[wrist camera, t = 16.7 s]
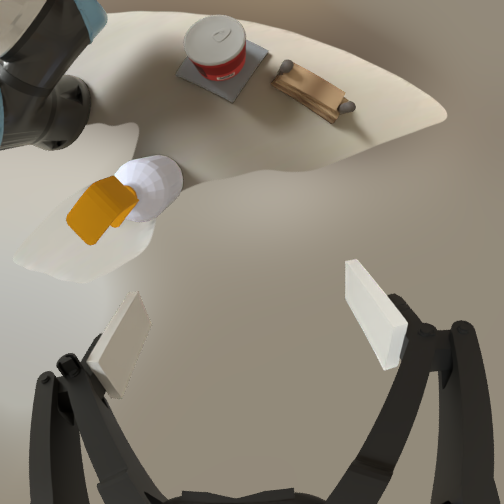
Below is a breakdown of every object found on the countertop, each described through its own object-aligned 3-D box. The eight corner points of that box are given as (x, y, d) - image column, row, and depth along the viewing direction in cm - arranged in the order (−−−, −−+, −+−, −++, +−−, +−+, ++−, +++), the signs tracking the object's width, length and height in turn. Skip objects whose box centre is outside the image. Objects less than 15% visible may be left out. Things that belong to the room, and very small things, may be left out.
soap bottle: (125, 182, 44) (38, 225, 21) (157, 144, 42) (78, 153, 19) (160, 216, 47) (95, 284, 24) (194, 179, 45) (145, 220, 22)
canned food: (254, 53, 35) (257, 28, 25) (227, 90, 38) (222, 74, 28) (214, 34, 34) (206, 6, 24) (187, 70, 36) (171, 51, 26)
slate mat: (176, 75, 37) (175, 74, 36) (211, 26, 34) (210, 24, 33) (232, 103, 40) (232, 102, 39) (267, 52, 36) (268, 50, 35)
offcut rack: (269, 84, 39) (273, 74, 32) (285, 62, 37) (292, 49, 30) (332, 124, 41) (346, 122, 35) (346, 102, 40) (362, 97, 33)
